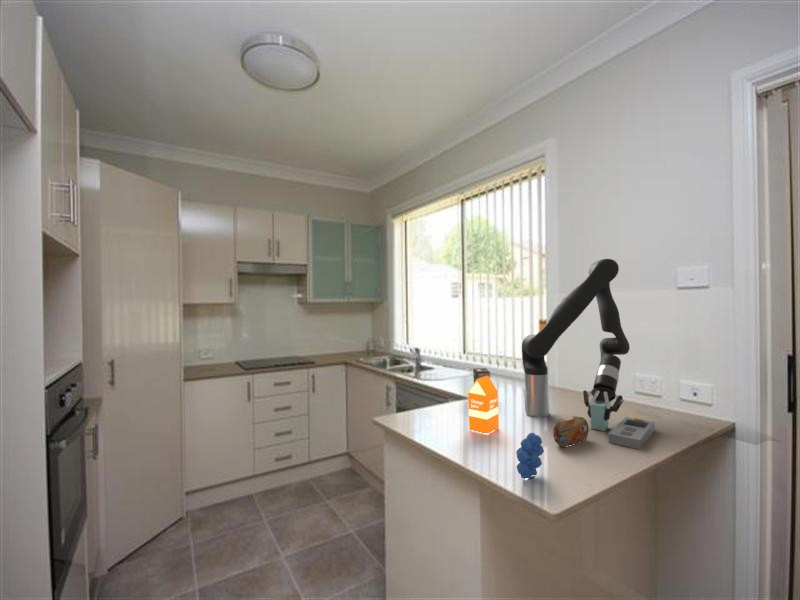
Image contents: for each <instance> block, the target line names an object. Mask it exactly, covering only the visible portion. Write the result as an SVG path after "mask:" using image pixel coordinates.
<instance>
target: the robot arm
mask: <svg viewBox="0 0 800 600" xmlns="http://www.w3.org/2000/svg"><path fill="white" fill-rule="evenodd" d="M619 270H620V269H619V264H618V262H617V261H616V260H614V259H611V258H603V259H600V260H598V261H595V262H593V263H592V264H591V265H590V266H589V268H588V276H587V277H586V278H585V279H584V280H583V281H582V283H580V284H579V285H577V286H576V287H575V288H573V290H571V291H570V292H569V293H567V294H566V295H565V296H564V297H563V298H562V299H561V300H560V302H558V304H557V305H556V306H555V307H554V309H553V311H552V313H551V314H550V317H549V319H548V321H547V323H546V324H545V326H543V327H542V329H541V330H539V331H538V332H537V333H536V334H528V335H526V336H525V337H524V338H523V340H522V343H521V355H522V356H521V359H522V366H523V371H524V389H523V392H524V412H525V413H526V416H529V417H537V418H544V417H548V416H550V398H549V396H550V395H549V373H548V366H547V363H546V361H545V356H546V355H548V354H549V352H550V351H551V349H552V348H553V346H554V345H555V343H556V342H557V341H558V339H559V338H560V337H561V336H562V334H564V333H565V332H566V330H567V329H569V328H570V326H571V325H572V324H573V323H574V322H575V321H576V320H577V319H578V318H579V317H580V316H581V314H583V312H584V311H585V310H586V309H587V307H589V305H590V304H591V303H592V301H593V300H594V299H595V298H596V302H597V305H598V312H599V318H600V319H599V320H600V325H601V330H602V331H603V332H605V333H610V334H613V335H614V337H605V338H602V339H601V341H600V342H599V351H600V352H599V353H600V361H599V365H598V366H599V367H598V369H597V370H596V376H595V379H594V383H593V388H592V389H591V390H590V391H589V390H588V391H587V390H585V389H584V390H583V391H582V393H583V403H584V405H585V407H586V408H587V413H586V414H587V416H588V417H589V418H590V419H591V411H590V404H591V403H593V402H602V403H606V404H607V405H606V410H605V414H604V420H605V421H607V420H608V421H609V420H610V417H611V413H612V412H615V413H616V412H618V411H619V409H620V408H621V406H622V405H623V402H624V397H623V396H622V395H618V394H616V392H617V386H618V384H619V383H618V382H619V376H620V375H619V373H620V369H621V364H622V363H621V362H622V361H621V359H620V357H618V356H623V355H627V354H628V353H629V352H630V349H631V347H630V342H629V340H628V339H627V336H626V334H625V332H624V330H623V327H622V324H621V318H620V311H619V309H618V306H617V304H616V301H615V300H614V297H613V295H612V290H611V285H610V283H611V282H612V281H613V280H614V279H615V278H616V277H617V276H618V273H619V272H620V271H619ZM591 396H592V398H591V401H589V399H590V397H591ZM614 400H615V401H614ZM612 401H614V403H613V405H612V404H611V402H612Z"/></svg>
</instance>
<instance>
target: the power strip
mask: <svg viewBox="0 0 800 600" xmlns="http://www.w3.org/2000/svg"><path fill="white" fill-rule="evenodd" d="M655 424H656V423H655V421H651V420H646V419H644V418H641V417H628V416H625V417H624V418H623V419H622V420H621V421H620V422H619V423H617V425H616V426H614V428H613V429H611V430H610V431H609V432H608V433H607V437H608V439H607V441H608V443H610V444H613V445H617V444H618V446H623V447H627V448H632V449H635V450H641V449H642V448H643V446H644V445H645V444H646V443H647V441H648V440H649V439H650V438H651V436H652V435H653V433H654V432H655V431H656V425H655Z"/></svg>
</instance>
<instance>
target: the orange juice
mask: <svg viewBox="0 0 800 600" xmlns="http://www.w3.org/2000/svg"><path fill="white" fill-rule="evenodd" d="M498 395H499V393H498V389H497V387H496V386H495V385H494V383H493V381H492V380H491V377H490V378H489V376H485V377H482V378H479V379H476V382H475V383H474V382H473V385H472V386H471V388H470V389H469V390H468V393H467V398H468V399H467V400H468V401H467V403H468V422H469V423H468V425H469V429H470V430H474V431H478V432H482V433H489V432H491V431H493V430H496V429H498V428H499V427H500V422H499V397H498ZM499 429H500V428H499ZM470 430H469V431H470Z"/></svg>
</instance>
